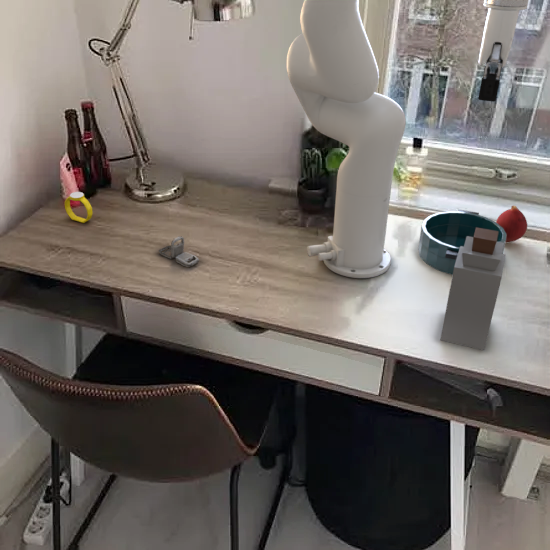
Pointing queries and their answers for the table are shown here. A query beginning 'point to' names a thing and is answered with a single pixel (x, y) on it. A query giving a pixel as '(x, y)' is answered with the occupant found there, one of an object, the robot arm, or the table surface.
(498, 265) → the perfume bottle
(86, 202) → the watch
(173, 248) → the strap clip
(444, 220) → the pot
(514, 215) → the onion
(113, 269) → the table surface
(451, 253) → the pot handles
